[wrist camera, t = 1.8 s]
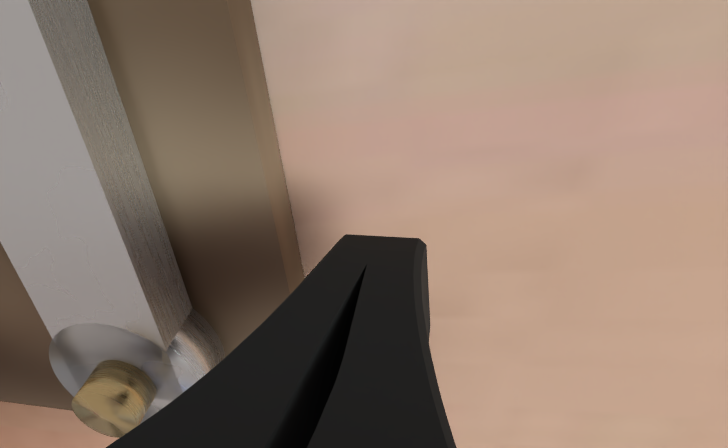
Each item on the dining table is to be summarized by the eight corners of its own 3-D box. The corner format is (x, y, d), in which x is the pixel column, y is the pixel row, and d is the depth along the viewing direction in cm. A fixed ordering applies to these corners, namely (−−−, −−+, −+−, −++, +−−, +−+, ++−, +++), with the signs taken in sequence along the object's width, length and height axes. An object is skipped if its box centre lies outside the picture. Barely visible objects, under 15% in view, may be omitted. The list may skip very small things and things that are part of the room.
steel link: (239, 398, 17) (203, 477, 15) (110, 383, 18) (61, 456, 16) (65, -150, 10) (-47, -126, 8) (-141, -130, 11) (-285, -104, 9)
